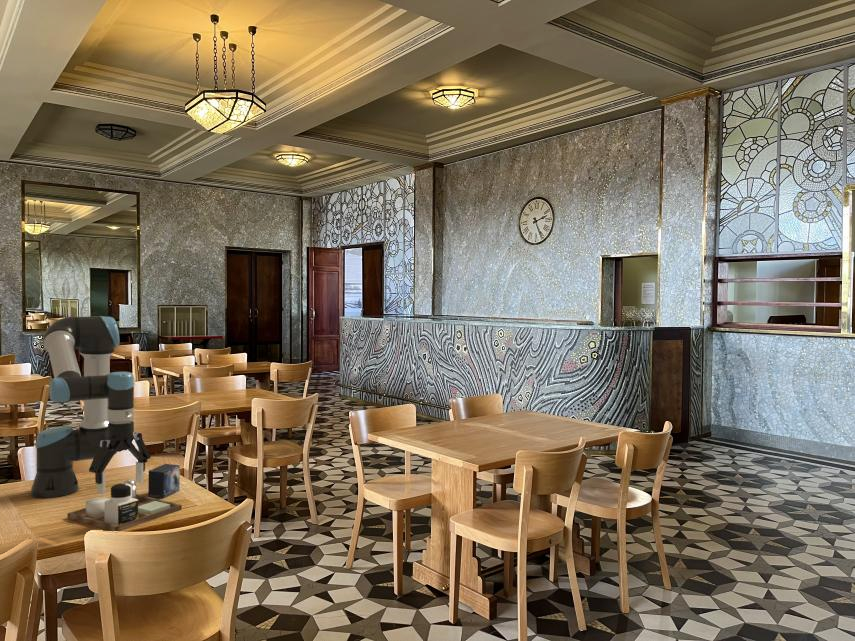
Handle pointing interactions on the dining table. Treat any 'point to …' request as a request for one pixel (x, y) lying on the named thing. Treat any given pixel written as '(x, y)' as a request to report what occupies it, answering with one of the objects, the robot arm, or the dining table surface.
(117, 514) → the medicine bottle
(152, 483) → the small box
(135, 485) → the metal shaker
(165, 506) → the napkin stack
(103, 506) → the silver rounded block
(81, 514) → the caddy
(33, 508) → the dining table surface
